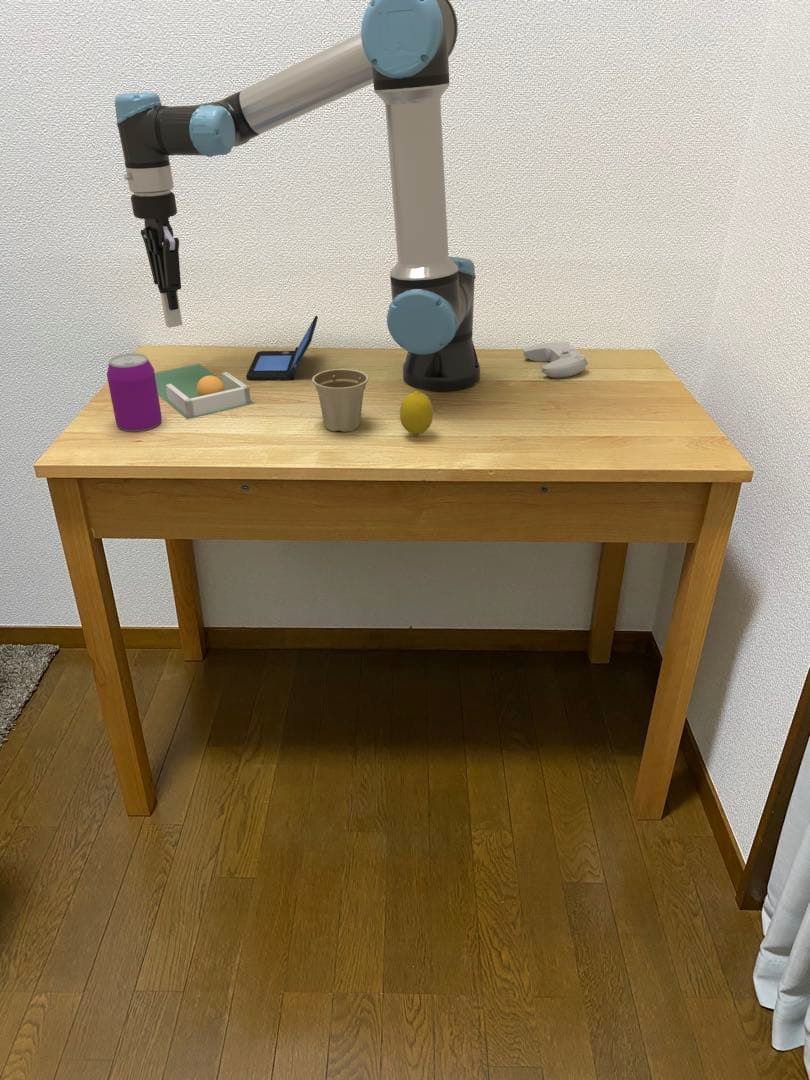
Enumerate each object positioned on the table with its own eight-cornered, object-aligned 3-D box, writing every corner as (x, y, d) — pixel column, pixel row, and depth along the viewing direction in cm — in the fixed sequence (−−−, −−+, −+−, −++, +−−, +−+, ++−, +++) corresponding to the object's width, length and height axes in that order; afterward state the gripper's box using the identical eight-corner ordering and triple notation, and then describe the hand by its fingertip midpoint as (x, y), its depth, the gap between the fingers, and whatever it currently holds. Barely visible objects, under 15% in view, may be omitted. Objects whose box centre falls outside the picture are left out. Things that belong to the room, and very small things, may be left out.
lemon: (433, 429, 146) (434, 385, 142) (431, 443, 141) (432, 397, 137) (401, 428, 146) (401, 384, 142) (398, 442, 142) (398, 396, 137)
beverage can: (115, 420, 150) (102, 354, 144) (160, 414, 152) (149, 349, 146) (119, 437, 144) (105, 369, 137) (165, 430, 146) (154, 363, 140)
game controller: (518, 344, 176) (563, 330, 177) (521, 364, 178) (565, 350, 179) (545, 367, 164) (593, 352, 165) (548, 388, 166) (595, 373, 167)
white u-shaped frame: (251, 403, 155) (249, 387, 154) (188, 417, 150) (186, 401, 148) (228, 386, 163) (226, 371, 161) (168, 400, 157) (165, 384, 155)
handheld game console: (257, 357, 179) (253, 313, 174) (321, 357, 179) (318, 313, 174) (245, 384, 166) (240, 337, 161) (314, 384, 166) (311, 337, 161)
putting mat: (254, 405, 156) (254, 403, 155) (187, 421, 149) (187, 419, 149) (199, 365, 174) (198, 363, 174) (137, 378, 168) (136, 376, 167)
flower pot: (333, 411, 153) (331, 365, 149) (379, 420, 149) (378, 373, 145) (304, 430, 146) (301, 382, 141) (351, 440, 142) (350, 391, 138)
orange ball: (232, 391, 153) (222, 369, 155) (206, 392, 150) (197, 370, 152) (223, 407, 157) (214, 386, 159) (198, 409, 154) (189, 388, 156)
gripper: (118, 190, 152) (143, 321, 164) (144, 199, 142) (167, 337, 154) (159, 185, 155) (180, 314, 167) (186, 194, 146) (206, 329, 158)
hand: (174, 325), depth 161 cm, fingers closed
